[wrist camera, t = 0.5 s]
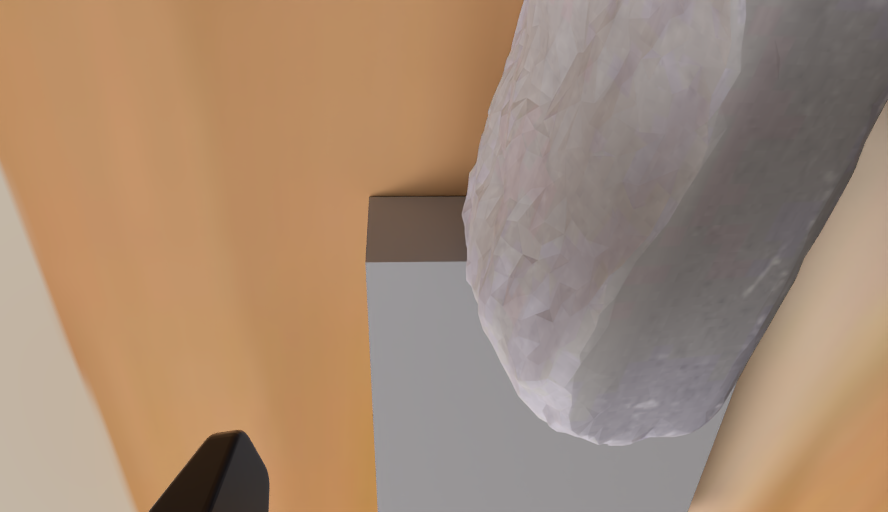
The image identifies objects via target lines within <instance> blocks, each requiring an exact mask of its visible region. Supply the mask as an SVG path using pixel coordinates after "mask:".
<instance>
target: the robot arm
mask: <svg viewBox="0 0 888 512" xmlns="http://www.w3.org/2000/svg"><path fill="white" fill-rule="evenodd" d="M268 509H269V476H268V472H267V469H266V467H265V465H264V463H263V461H262V459H261V458H260V456H259V454H258V452H257V451H256V449H255V447H254V445H253V444H252V442H251V440H250V438H249V437H248V435H247V434H246V433H245V432H243V431H242V430H234V431H227V432H220V433H215V434H213V435H211V436H209V437H208V438H207V439H206V440H205V441H204V443H203V444H202V445H201V446H200V448H199V449H198V450H197V451H196V453H195V454H194V455H193V456H192V458H191V459H190V460H189V461H188V463H187V464H186V465H185V467H184V468H183V469H182V470H181V472H180V473H179V474H178V475H177V477H176V478H175V479H174V480H173V482H172V483H171V484H170V485H169V487H168V488H167V489H166V490H165V492H164V493H163V494H162V495H161V497H160V498H159V499H158V500H157V502H156V503H155V504H154V505H153V507H152V508H151V509H150V510H149V512H268Z"/></svg>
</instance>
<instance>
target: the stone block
mask: <svg viewBox="0 0 888 512" xmlns="http://www.w3.org/2000/svg"><path fill="white" fill-rule="evenodd" d="M887 100H888V0H524V3H523V6H522V9H521V12H520V16H519V19H518V23H517V27H516V31H515V35H514V39H513V43H512V48H511V52H510V54H509V56H508V58H507V60H506V64H505V68H504V73H503V76H502V78H501V81H500V83H499V85H498V87H497V90H496V92H495V94H494V96H493V99H492V102H491V105H490V107H489V110H488V118H487V121H486V125H485V129H484V132H483V134H482V137H481V141H480V145H479V150H478V157H477V162H476V164H475V166H474V167H473V169H472V170H471V171H470V173H469V182H468V190H467V196H466V200H465V203H464V207H463V211H462V218H463V222H464V226H465V239H466V246H467V263H466V281H467V282H468V283H469V284H470V285H471V287H472V290H473V293H474V297H475V299H476V301H477V303H478V315H479V319H480V322H481V325H482V328H483V331H484V332H485V334H486V335H487V337H488V338H489V340H490V342H491V343H492V345H493V347H494V349H495V351H496V354H497V356H498V358H499V360H500V362H501V364H502V366H503V367H504V369H505V371H506V373H507V375H508V377H509V378H510V380H511V382H512V384H513V386H514V389H515V391H516V393H517V395H518V396H519V398H520V399H521V400H522V401H523V402H524V403H525V404H526V405H527V406H528V407H529V408H530V409H531V410H532V411H533V412H534V413H535V415H536V416H537V417H538V418H540V419H541V420H543V421H545V422H547V424H548V425H549V427H551V428H552V429H554V430H555V431H556V432H563V433H567V434H570V435H572V436H575V437H580V438H582V439H585V440H587V441H590V442H593V443H595V444H598V445H601V444H603V443H604V444H608V446H625V445H630V444H633V443H634V442H637V441H640V440H643V439H646V438H649V437H677V436H681V435H686V434H690V433H693V432H695V431H696V430H698V429H699V428H701V427H702V426H703V425H705V424H706V423H708V422H709V421H710V420H711V419H712V418H713V417H714V416H715V415H716V413H717V412H718V411H719V410H720V409H721V407H722V406H723V404H724V402H725V401H726V399H727V397H728V396H729V394H730V392H731V391H732V389H733V387H734V386H735V384H736V382H737V380H738V379H739V377H740V375H741V373H742V371H743V370H744V368H745V366H746V364H747V362H748V360H749V359H750V357H751V355H752V353H753V352H754V350H755V348H756V346H757V345H758V343H759V341H760V340H761V338H762V336H763V335H764V333H765V331H766V330H767V328H768V326H769V325H770V323H771V321H772V319H773V317H774V316H775V314H776V312H777V310H778V308H779V307H780V305H781V303H782V302H783V300H784V298H785V296H786V295H787V293H788V291H789V290H790V288H791V286H792V284H793V283H794V281H795V279H796V276H797V274H798V272H799V269H800V267H801V264H802V262H803V259H804V258H805V256H806V254H807V253H808V251H809V250H810V248H811V246H812V245H813V243H814V242H815V240H816V238H817V237H818V235H819V234H820V232H821V230H822V229H823V227H824V225H825V223H826V221H827V220H828V218H829V216H830V214H831V213H832V211H833V209H834V207H835V205H836V204H837V202H838V200H839V198H840V196H841V195H842V193H843V191H844V189H845V187H846V185H847V184H848V182H849V180H850V178H851V176H852V174H853V172H854V170H855V168H856V165H857V162H858V160H859V157H860V154H861V152H862V149H863V146H864V144H865V141H866V139H867V138H868V136H869V134H870V132H871V130H872V128H873V126H874V124H875V122H876V120H877V119H878V117H879V115H880V113H881V111H882V109H883V107H884V105H885V103H886V102H887Z"/></svg>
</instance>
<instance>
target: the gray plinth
mask: <svg viewBox="0 0 888 512" xmlns="http://www.w3.org/2000/svg"><path fill="white" fill-rule="evenodd" d="M465 200H466V196H452V197H369V210H368V228H367V245H366V282H367V302H368V322H369V342H370V363H371V383H372V403H373V423H374V443H375V463H376V483H377V503H378V512H688V509H689V506H690V504H691V501H692V499H693V496H694V493H695V491H696V488H697V485H698V483H699V480H700V478H701V475H702V472H703V470H704V467H705V464H706V462H707V459H708V456H709V454H710V451H711V449H712V446H713V443H714V441H715V438H716V435H717V433H718V430H719V428H720V425H721V422H722V420H723V417H724V414H725V412H726V409H727V406H728V404H729V401H730V399H731V396H732V393H733V391H734V388H735V386H734V387H733V389H732V391H731V392H730V394H729V396H728V397H727V399H726V401H725V402H724V404H723V406H722V407H721V409H720V410H719V411H718V412H717V413H716V415H715V416H714V417H713V418H712V419H711V420H710V421H709V422H708V423H706V424H705V425H703V426H702V427H701V428H699V429H698V430H696V431H695V432H693V433H690V434H686V435H681V436H677V437H649V438H646V439H643V440H640V441H637V442H634V443H633V444H630V445H625V446H608V444H604V443H603V444H601V445H598V444H595V443H593V442H590V441H587V440H585V439H582V438H580V437H575V436H572V435H570V434H567V433H563V432H556V431H555V430H554V429H552V428H551V427H549V425H548V424H547V422H545V421H543V420H541V419H540V418H538V417H537V416H536V415H535V413H534V412H533V411H532V410H531V409H530V408H529V407H528V406H527V405H526V404H525V403H524V402H523V401H522V400H521V399H520V398H519V396H518V395H517V393H516V391H515V389H514V386H513V384H512V382H511V380H510V378H509V377H508V375H507V373H506V371H505V369H504V367H503V366H502V364H501V362H500V360H499V358H498V356H497V354H496V351H495V349H494V347H493V345H492V343H491V342H490V340H489V338H488V337H487V335H486V334H485V332H484V331H483V328H482V325H481V322H480V319H479V315H478V303H477V301H476V299H475V297H474V293H473V290H472V287H471V285H470V284H469V283H468V282H467V281H466V263H467V246H466V239H465V226H464V222H463V218H462V211H463V207H464V203H465ZM736 383H737V382H736ZM735 385H736V384H735Z"/></svg>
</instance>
